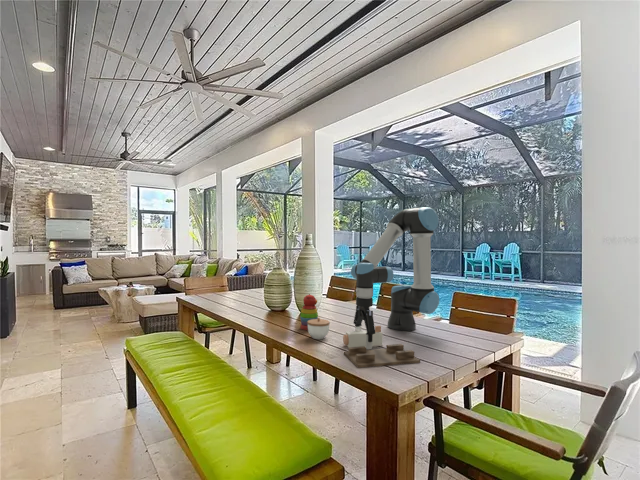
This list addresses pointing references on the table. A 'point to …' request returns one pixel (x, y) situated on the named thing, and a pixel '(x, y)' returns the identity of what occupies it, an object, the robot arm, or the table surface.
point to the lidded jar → (318, 328)
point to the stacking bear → (308, 311)
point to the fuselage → (362, 338)
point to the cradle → (380, 356)
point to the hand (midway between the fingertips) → (363, 344)
